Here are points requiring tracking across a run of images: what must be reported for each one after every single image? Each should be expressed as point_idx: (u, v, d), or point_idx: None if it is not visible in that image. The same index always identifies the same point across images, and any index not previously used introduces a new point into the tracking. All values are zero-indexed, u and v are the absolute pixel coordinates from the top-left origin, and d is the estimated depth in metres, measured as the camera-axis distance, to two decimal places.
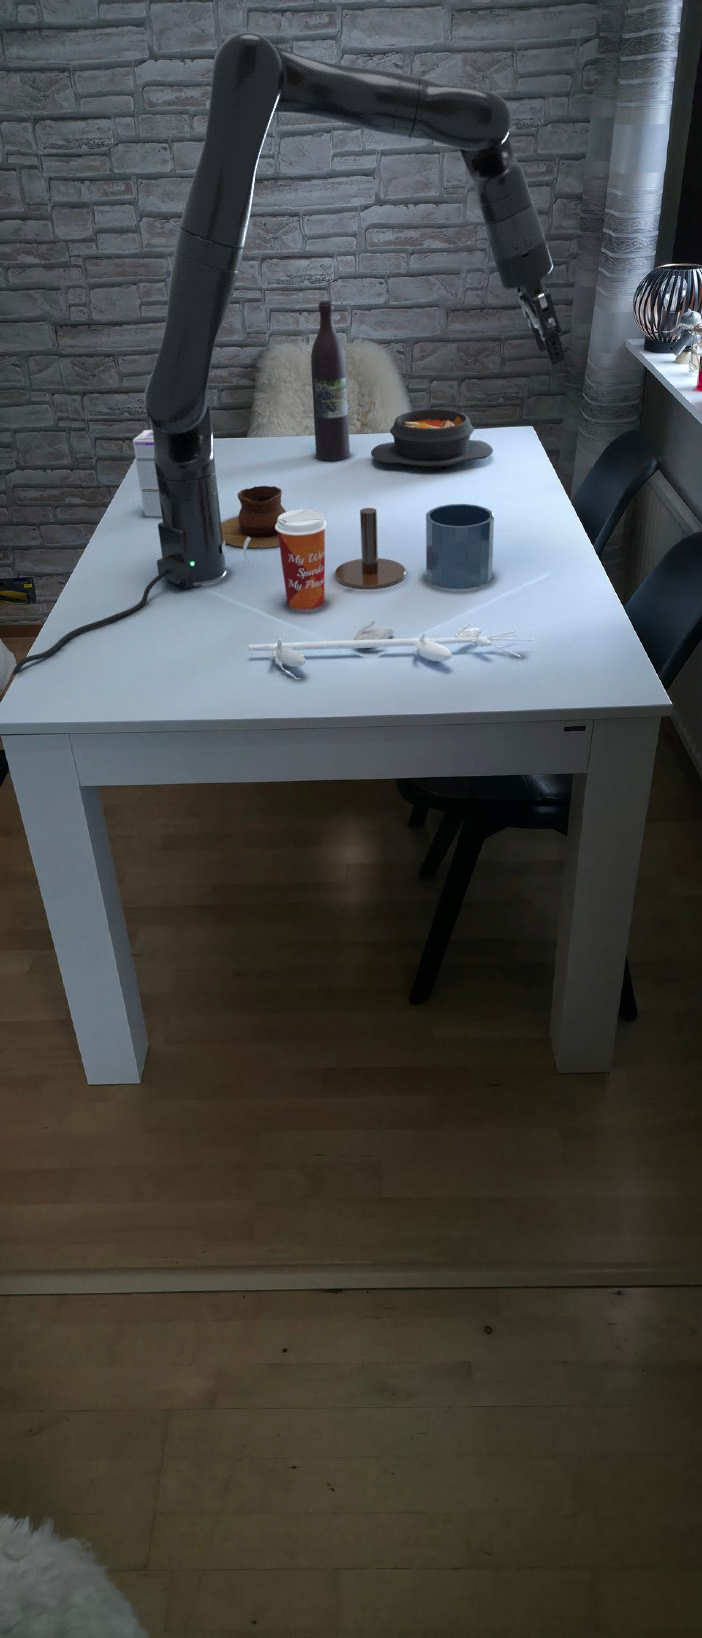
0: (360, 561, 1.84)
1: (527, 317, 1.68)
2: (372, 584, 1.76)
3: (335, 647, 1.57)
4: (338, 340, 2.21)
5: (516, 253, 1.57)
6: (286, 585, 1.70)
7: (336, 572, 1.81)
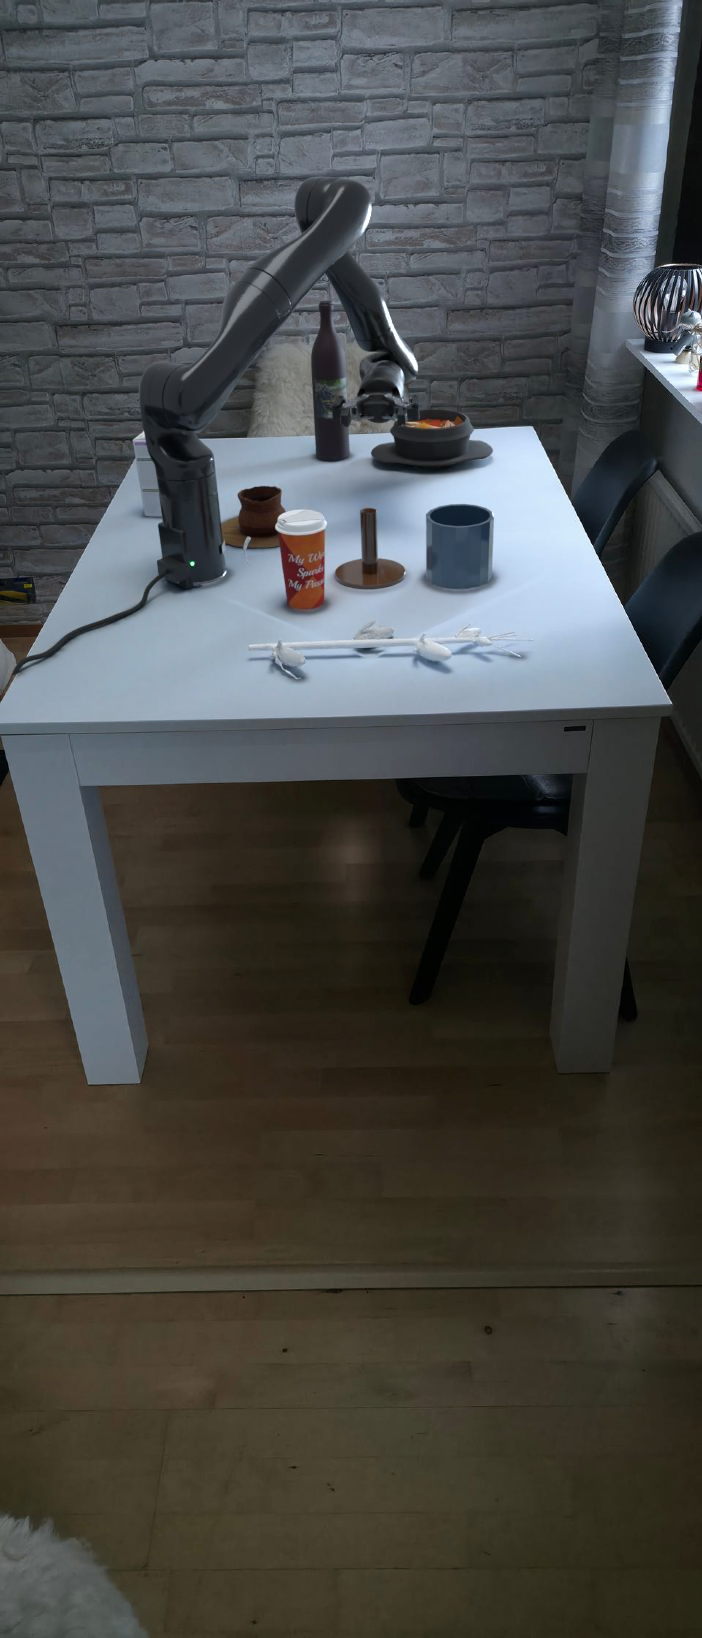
0: (360, 561, 1.84)
1: (358, 402, 1.82)
2: (372, 584, 1.76)
3: (335, 647, 1.57)
4: (338, 340, 2.21)
5: (401, 387, 1.90)
6: (286, 585, 1.70)
7: (336, 572, 1.81)
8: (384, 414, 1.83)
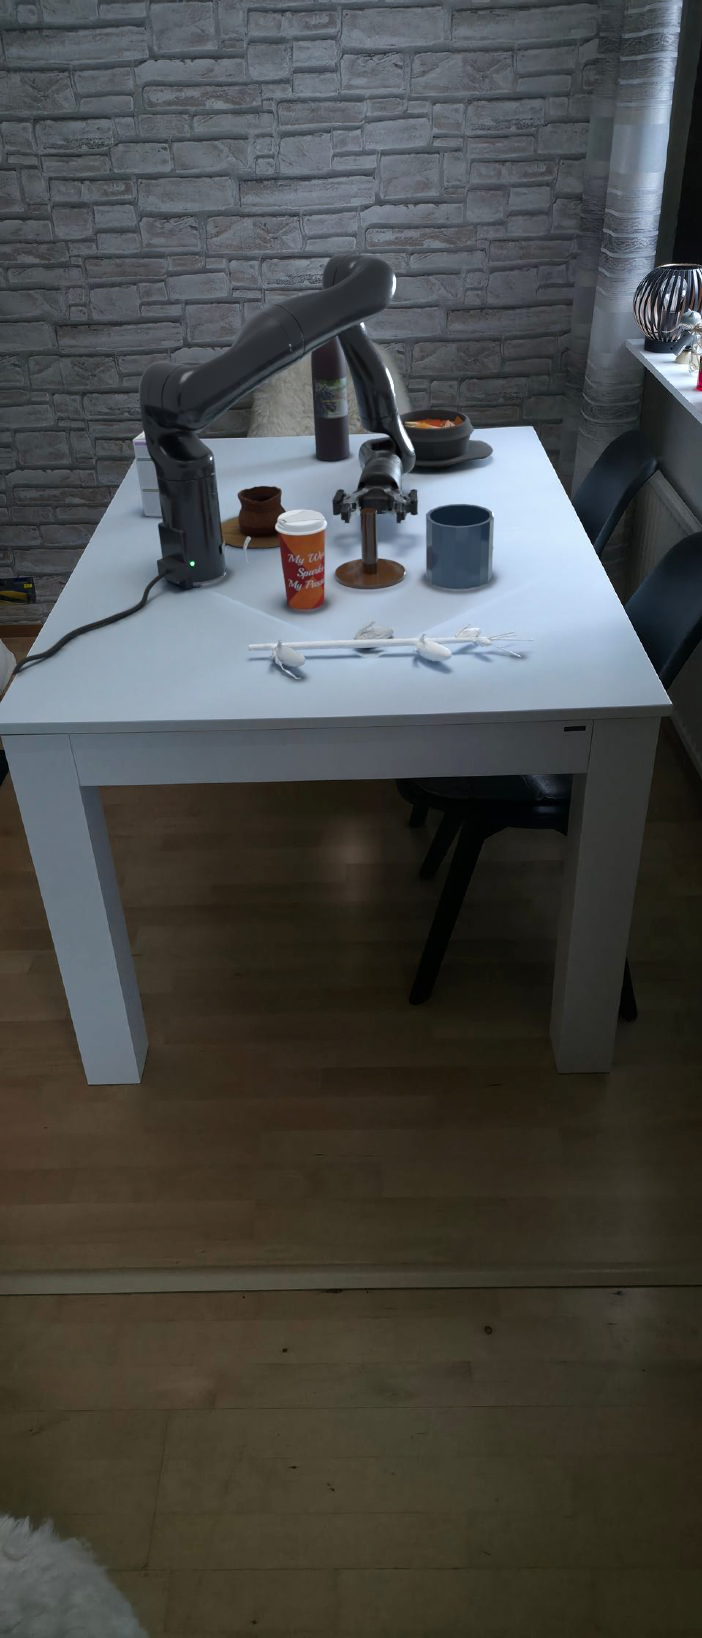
0: (360, 561, 1.84)
1: (358, 497, 1.87)
2: (372, 584, 1.76)
3: (335, 647, 1.57)
4: (338, 340, 2.21)
5: (400, 479, 1.95)
6: (286, 585, 1.70)
7: (336, 572, 1.81)
8: (383, 508, 1.88)
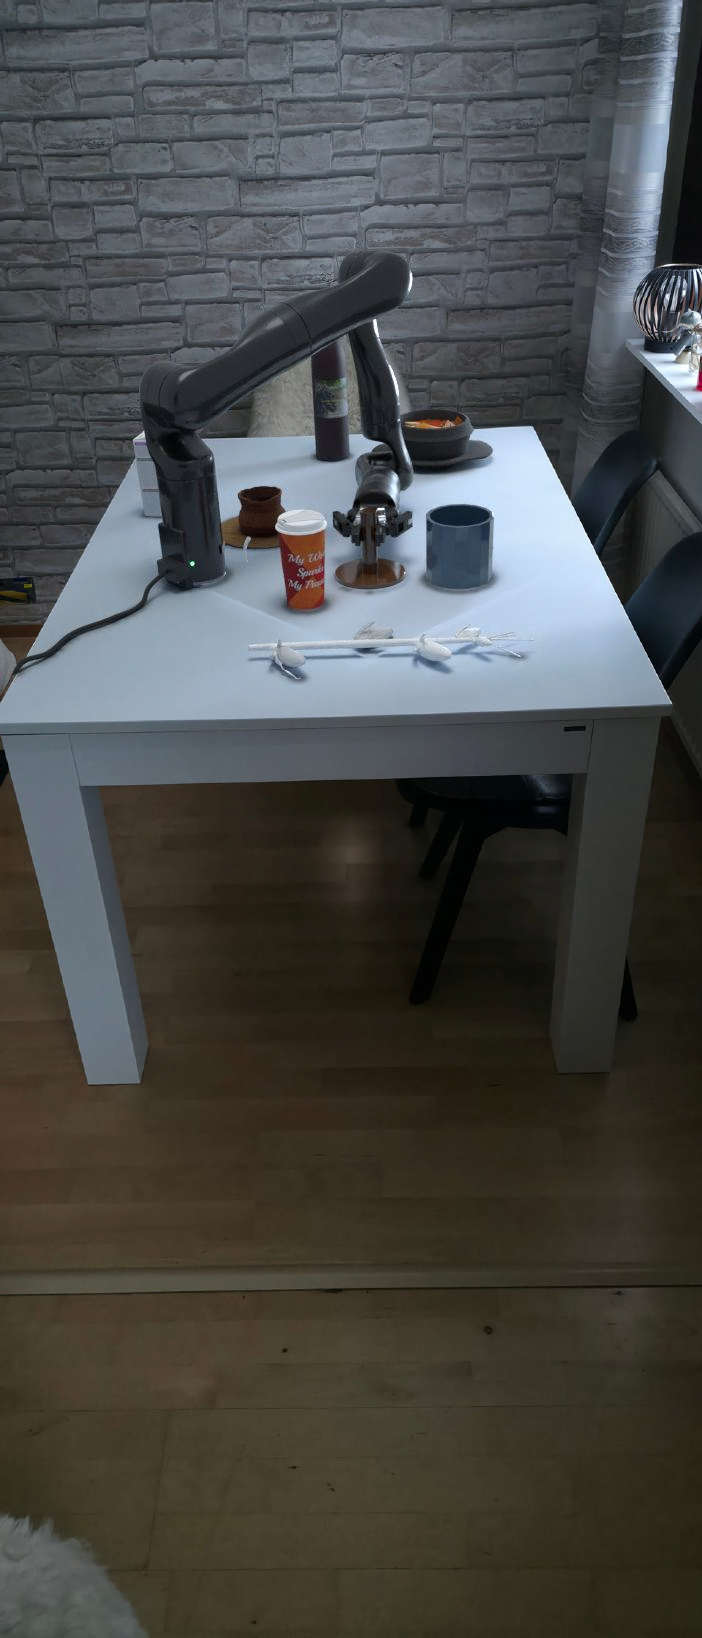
0: (360, 561, 1.84)
1: None
2: (372, 584, 1.76)
3: (335, 647, 1.57)
4: (338, 340, 2.21)
5: (397, 496, 1.88)
6: (286, 585, 1.70)
7: (336, 572, 1.81)
8: None
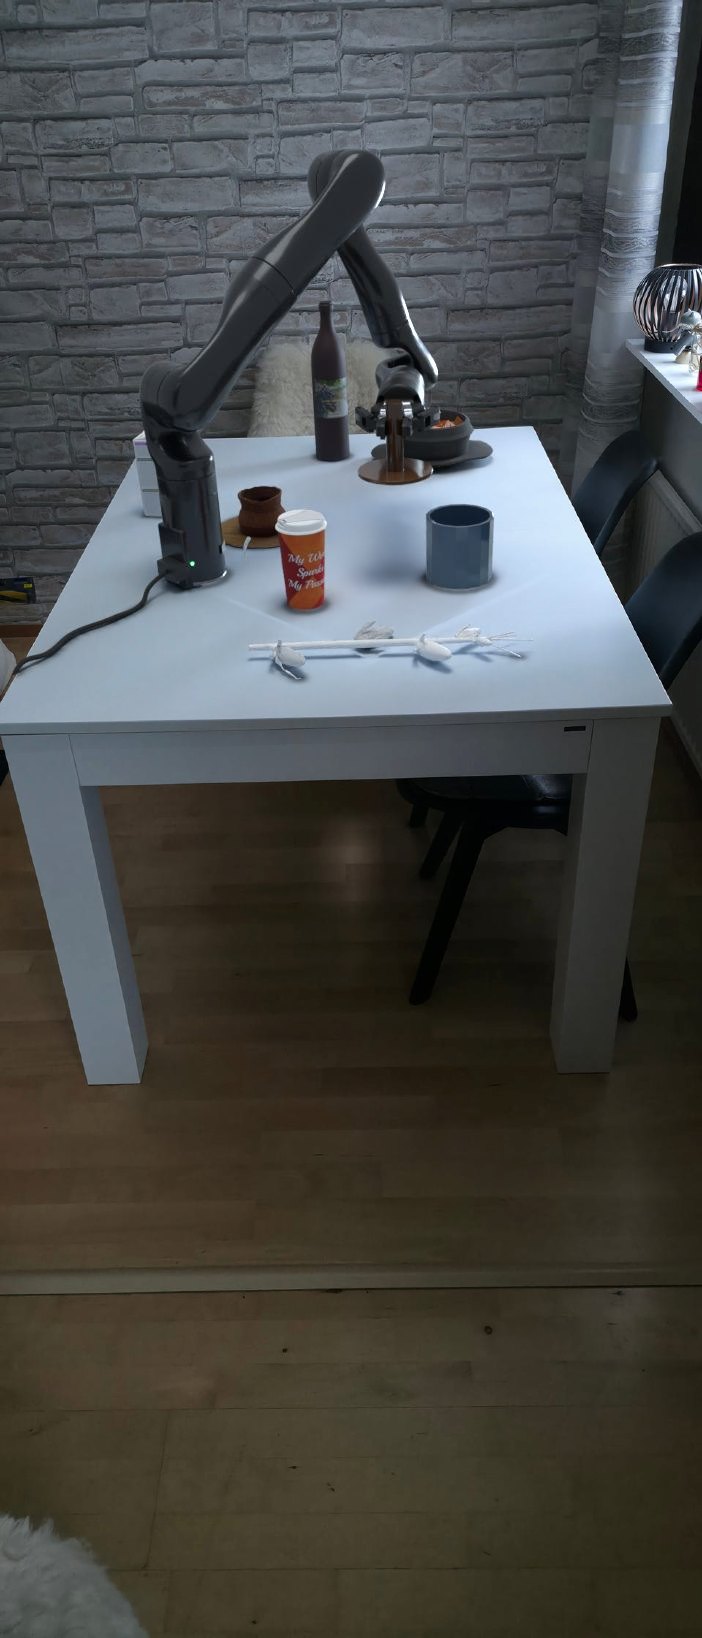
0: (384, 460, 1.75)
1: None
2: (398, 480, 1.66)
3: (335, 647, 1.57)
4: (338, 340, 2.21)
5: (422, 394, 1.78)
6: (286, 585, 1.70)
7: (359, 470, 1.71)
8: None
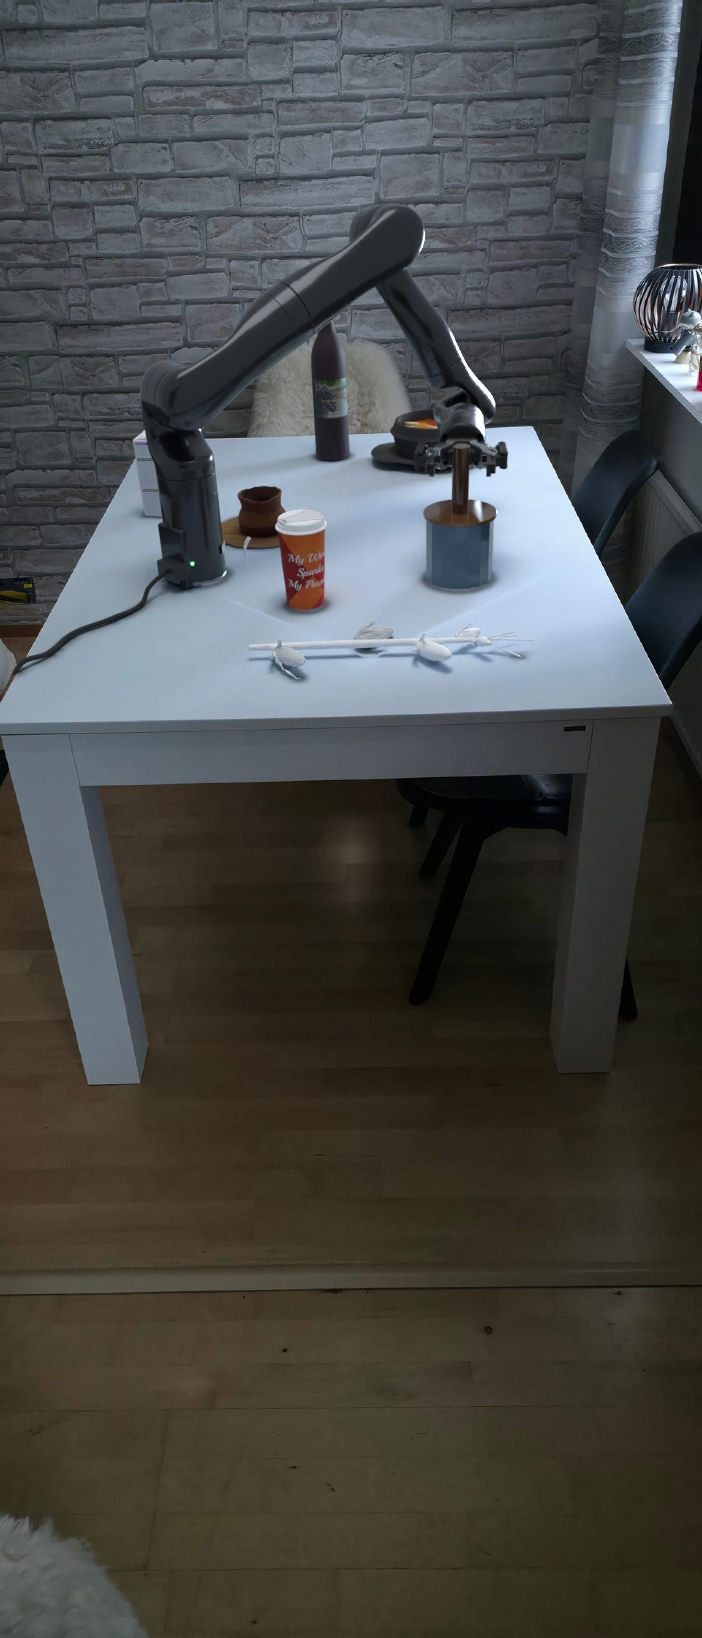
0: (448, 501, 1.77)
1: (442, 449, 1.72)
2: (464, 523, 1.69)
3: (335, 647, 1.57)
4: (338, 340, 2.21)
5: (484, 432, 1.80)
6: (286, 585, 1.70)
7: (424, 512, 1.73)
8: None
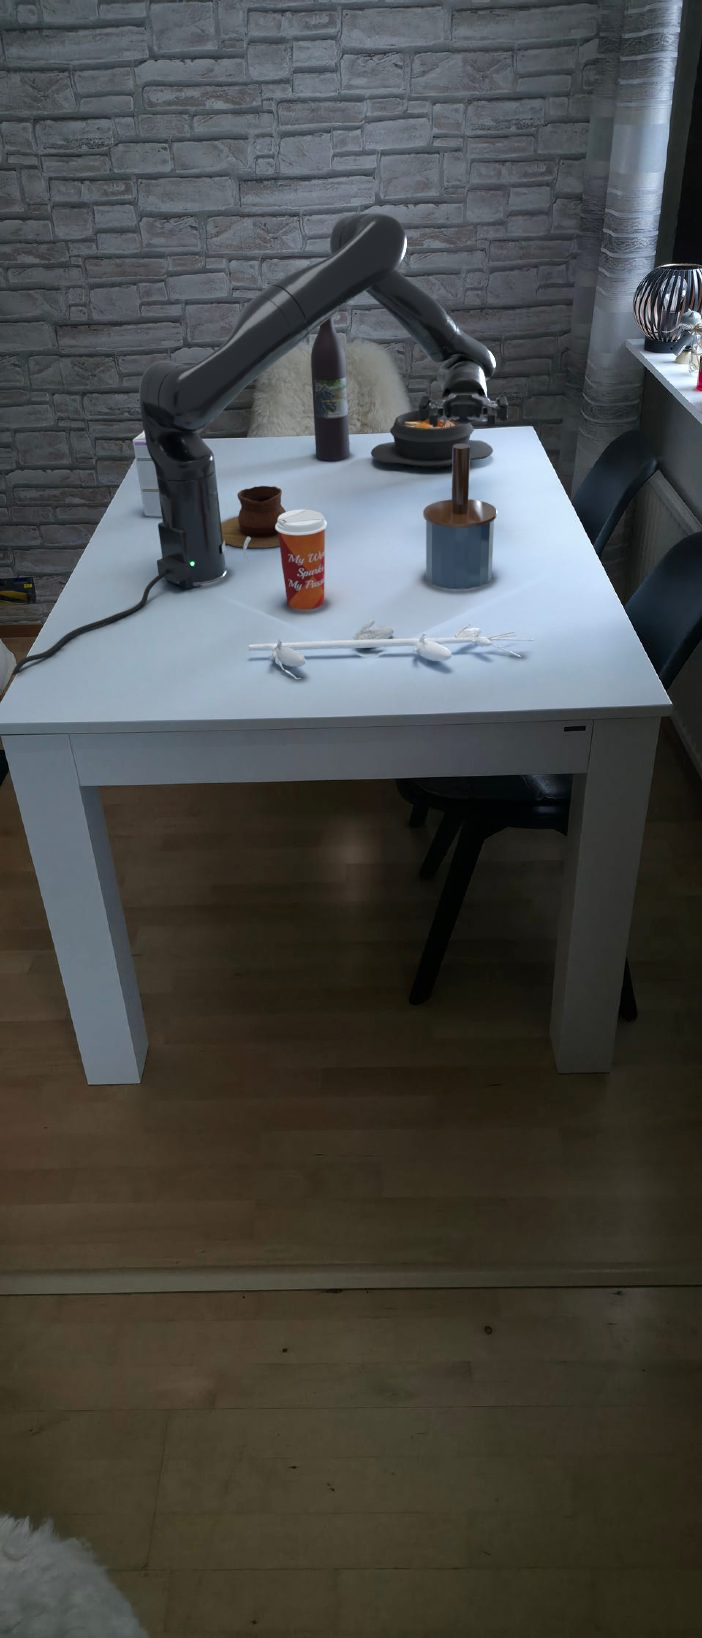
0: (448, 501, 1.77)
1: (445, 402, 1.80)
2: (464, 523, 1.69)
3: (335, 647, 1.57)
4: (338, 340, 2.21)
5: (485, 387, 1.88)
6: (286, 585, 1.70)
7: (424, 512, 1.73)
8: (471, 414, 1.81)
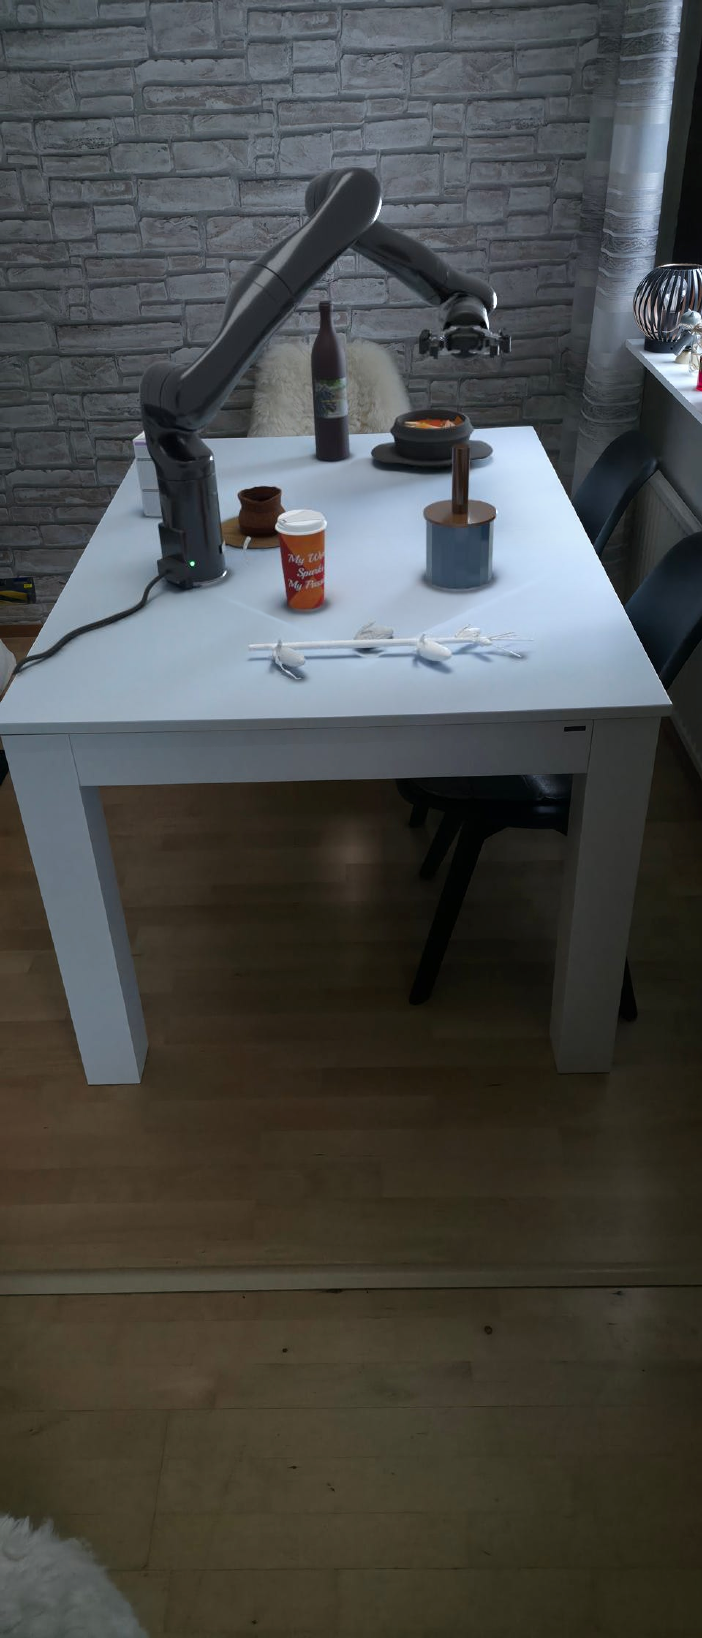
0: (448, 501, 1.77)
1: (446, 334, 1.75)
2: (464, 523, 1.69)
3: (335, 647, 1.57)
4: (338, 340, 2.21)
5: None
6: (286, 585, 1.70)
7: (424, 512, 1.73)
8: (473, 347, 1.76)
